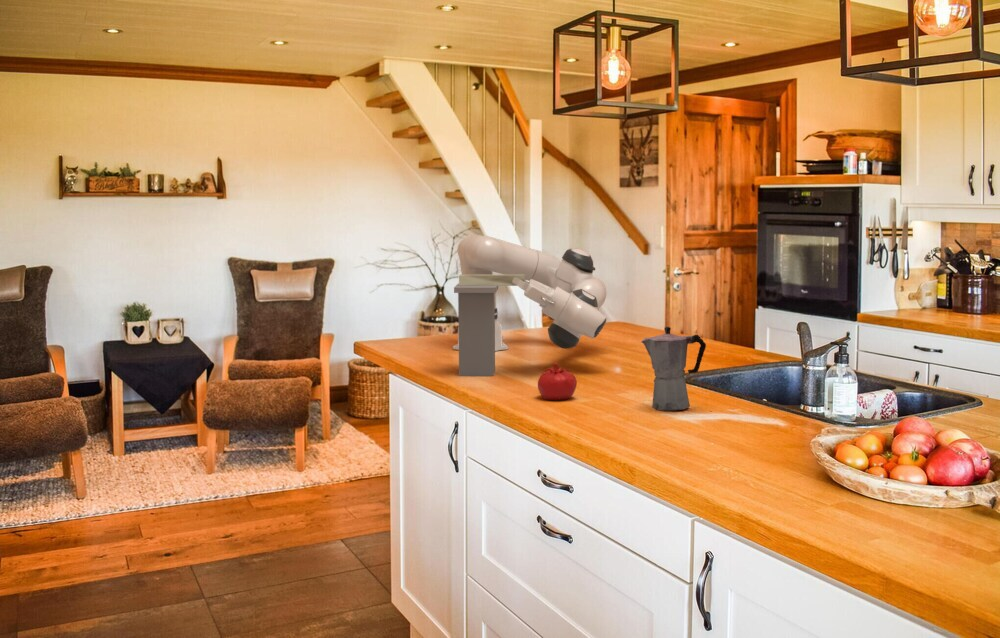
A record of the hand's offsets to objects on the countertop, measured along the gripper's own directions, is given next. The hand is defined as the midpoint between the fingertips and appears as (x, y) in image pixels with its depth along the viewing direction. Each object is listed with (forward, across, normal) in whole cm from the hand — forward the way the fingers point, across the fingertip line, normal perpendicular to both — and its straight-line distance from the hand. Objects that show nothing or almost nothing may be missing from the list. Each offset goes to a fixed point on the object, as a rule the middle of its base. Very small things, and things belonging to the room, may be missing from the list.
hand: (513, 278), depth 274 cm
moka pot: (-49, -46, -4) cm, 67 cm away
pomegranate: (-25, -35, -18) cm, 47 cm away
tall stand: (-5, 0, -30) cm, 30 cm away
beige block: (+4, 0, -5) cm, 7 cm away
